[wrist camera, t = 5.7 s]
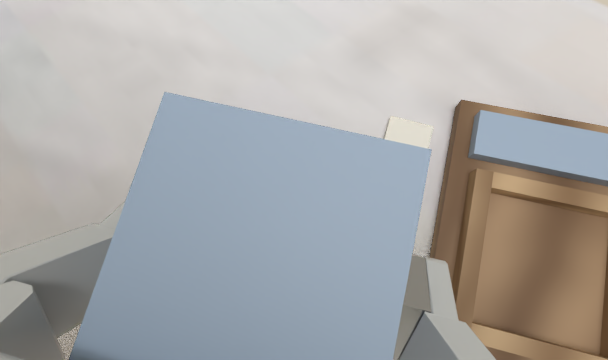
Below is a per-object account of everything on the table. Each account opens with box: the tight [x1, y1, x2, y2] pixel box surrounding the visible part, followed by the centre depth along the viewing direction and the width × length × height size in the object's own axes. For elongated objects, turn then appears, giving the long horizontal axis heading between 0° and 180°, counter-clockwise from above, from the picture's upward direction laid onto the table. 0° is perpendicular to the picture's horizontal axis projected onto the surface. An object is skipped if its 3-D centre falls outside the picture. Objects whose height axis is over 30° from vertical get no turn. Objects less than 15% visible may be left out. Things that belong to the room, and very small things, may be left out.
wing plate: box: [468, 110, 608, 187], centre depth 22 cm, size 10×3×1 cm, turn 76°
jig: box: [430, 100, 608, 360], centre depth 21 cm, size 12×16×2 cm
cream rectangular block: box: [384, 116, 434, 149], centre depth 24 cm, size 3×4×1 cm
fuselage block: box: [69, 92, 432, 360], centre depth 9 cm, size 4×5×8 cm
